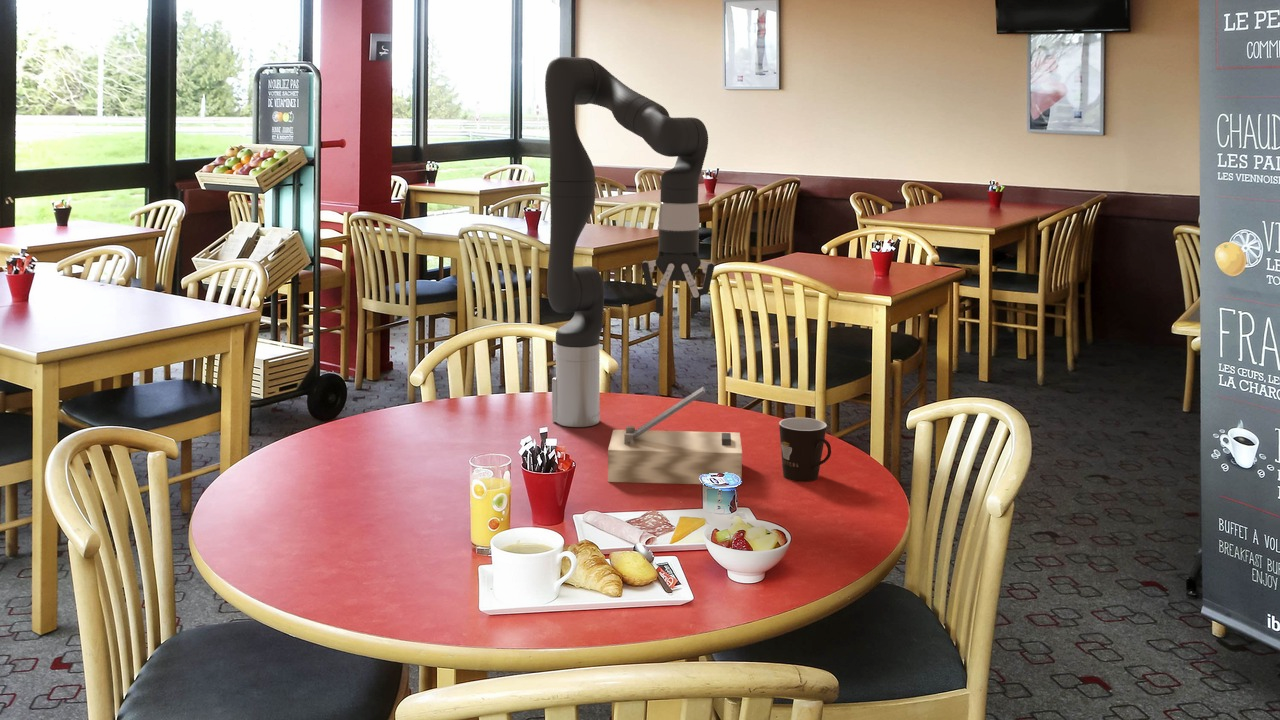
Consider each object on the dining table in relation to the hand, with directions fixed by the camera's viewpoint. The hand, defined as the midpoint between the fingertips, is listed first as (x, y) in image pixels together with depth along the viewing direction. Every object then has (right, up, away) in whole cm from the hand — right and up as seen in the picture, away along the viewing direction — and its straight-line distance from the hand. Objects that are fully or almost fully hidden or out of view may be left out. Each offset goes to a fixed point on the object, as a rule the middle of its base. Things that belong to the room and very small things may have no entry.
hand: (677, 315), depth 219 cm
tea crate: (-1, -29, -5) cm, 30 cm away
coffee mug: (+23, -30, -8) cm, 39 cm away
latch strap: (-2, -18, -7) cm, 20 cm away
